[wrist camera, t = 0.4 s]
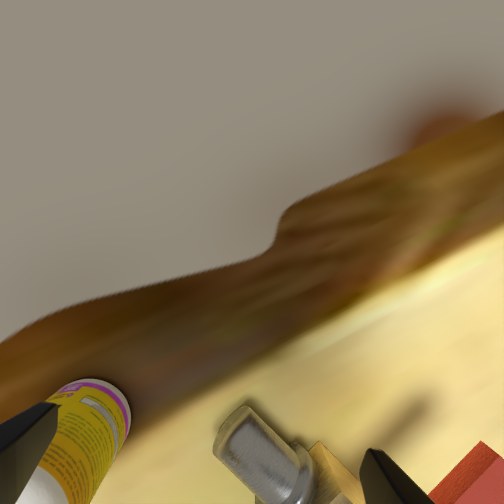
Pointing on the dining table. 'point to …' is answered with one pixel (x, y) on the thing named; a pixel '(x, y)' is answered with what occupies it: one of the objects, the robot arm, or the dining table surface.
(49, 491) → the supplement bottle
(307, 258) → the dining table surface
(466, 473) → the lever
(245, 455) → the valve
